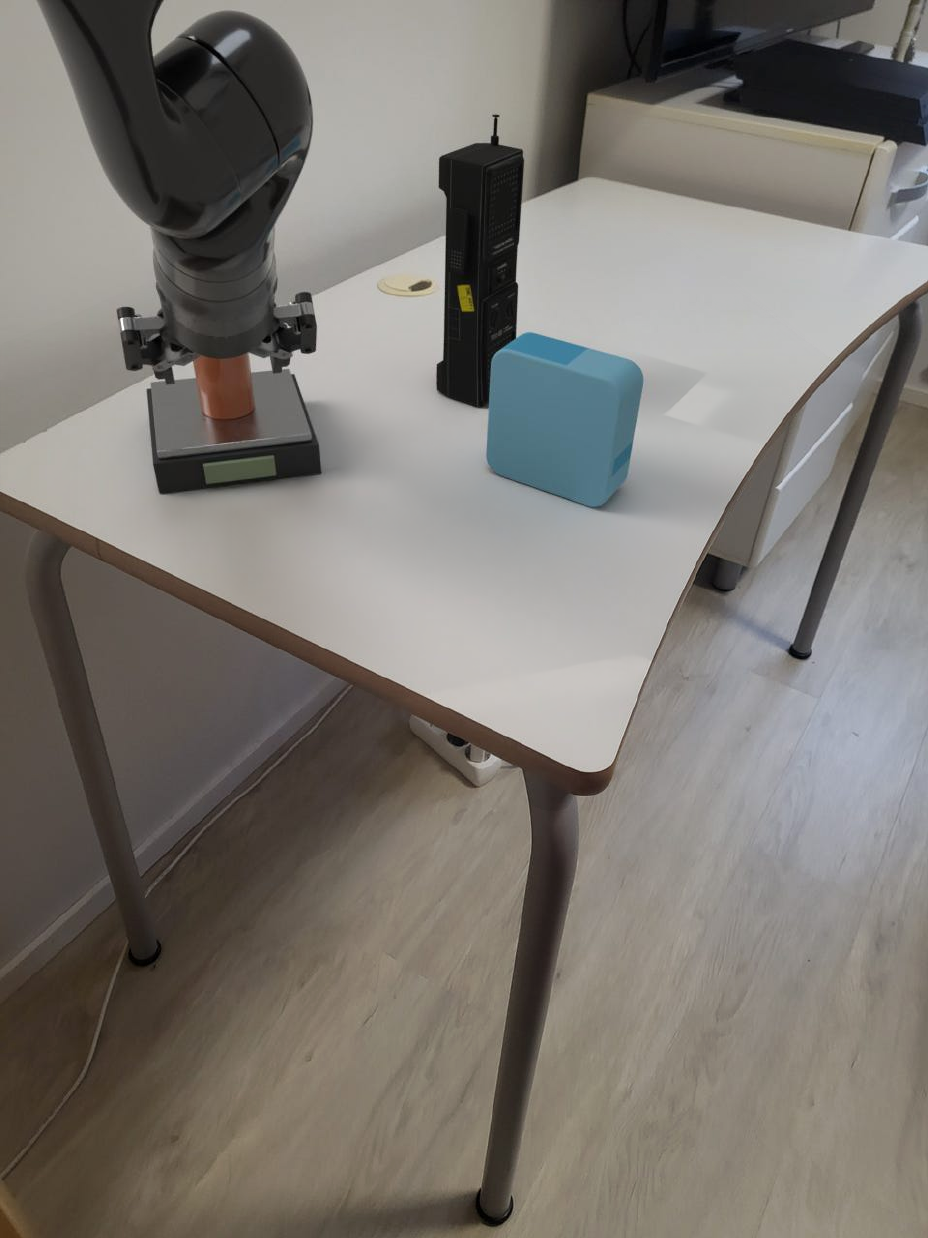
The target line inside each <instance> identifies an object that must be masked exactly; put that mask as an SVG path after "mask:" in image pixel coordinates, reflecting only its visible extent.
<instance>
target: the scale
mask: <svg viewBox="0 0 928 1238" xmlns="http://www.w3.org/2000/svg"><path fill="white" fill-rule="evenodd" d="M291 375H292V378H293V381H294V384H295V387H296V390H297V393H298V396H299V399H300V402H301V405H302V408H303V410H304V413H305V416H306V419H307V422H308V425H309V428H310V431H311V434H312V441H311V442H302V443H294V444H285V445H277V446H269V447H260V448H252V449H243V450H235V451H226V452H218V453H209V454H201V455H192V456H184V457H175V458H167V459H158V454H157V446H156V435H155V425H154V415H153V404H152V394H151V387H150V388H146V401H147V413H148V423H149V434H150V446H151V447H150V448H151V457H152V466H153V471H154V476H155V481H156V485H157V490H158V493H159V495H160V494H161V495H162V494H169V493H177V492H185V491H193V490H200V489H208V488H215V487H216V488H218V487H225V486H232V485H240V484H248V483H256V482H264V481H272V480H277V479H278V480H280V479H287V478H295V477H296V478H297V477H304V476H311V475H318V474H322V465H321V454H320V443H319V441H318V440H319V439H318V438H317V435H316V432H315V429H314V426H313V424H312V421H311V418H310V415H309V412H308V409H307V406H306V403H305V401H304V398H303V394H302V392H301V389H300V387H299V384H298V381H297V377H296V375H295V373H291Z"/></svg>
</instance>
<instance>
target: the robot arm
mask: <svg viewBox="0 0 928 1238" xmlns="http://www.w3.org/2000/svg"><path fill="white" fill-rule="evenodd" d="M164 1H165V0H35V2H36V3H37V5H38V7H39V9H40V12H41V14H42V17H43V19H44V20H45V23H46V26H47V28H48V30H49V33H50V35H51V37H52V40H53V42H54V45H55V47H56V49H57V52H58V54H59V57H60V59H61V61H62V64H63V66H64V69H65V72H66V75H67V77H68V81H69V82H70V86H71V88H72V91H73V94H74V97H75V100H76V102H77V103H76V104H77V106H78V109H79V112H80V115H81V117H82V120H83V124H84V126H85V129H86V132H87V135H88V137H89V141H90V143H91V145H92V147H93V150H94V153H95V155H96V157H97V159H98V161H99V164H100V167H101V169H102V170H103V172H104V174H105V177H106V178H107V181H108V182H109V183H110V185H111V187H112V188H113V190H114V191H115V193H116V195H118V197H119V198H120V200H121V201H122V202H123V204H125V206H126V207H127V208H128V209H129V210H130V211H131V212H132V213H133V215H134V216H136V217H137V218H138V219H139V220H141V221H142V222H143V223H145V224H146V225H147V226H149V231H150V237H151V241H152V246H153V247H152V266H153V272H154V276H155V277H154V278H155V289H156V292H157V295H158V297H159V302H160V306H161V308H160V309H159V310H158V311H157V313H156V315H154V316H143V315H142V314H140V313H137V314H136V312H135V308H134V307H131V306H121V307H119V308H116V316H117V317H116V318H117V322H118V329H119V336H120V342H121V346H122V352H123V358H124V365H125V369H126V370H127V371H129V372H130V371H131V372H137V371H140V370H142V369H143V368H144V366H145V365H146V366H150V367H151V370H152V371H153V374H154V377H155V378H154V379H157V380H164V381H165V382H166V385H168V384H175V381H174V380H175V377H174V370H173V366H181V367H185V366H187V365H188V364H190V363H193V361H194V360H195V359H197V358H199V357H200V356H205V357H209V358H216V359H228V358H234V357H238V356H241V355H244V354H246V353H249V354H251V355H254V356H256V357H259V358H261V359H266V358H269V359H270V366H271V371H273V374H275V373H282V369H283V368H287V367H288V366H289V365H291V358H292V357H293V356H294V354H293V353H294V352H295V351H300V353H301V354H303V355H310V354H313V353H315V352H316V351H317V339H318V338H317V337H318V333H317V332H318V324H317V319H316V313H315V308H314V302H313V296H312V293H311V292H310V291H309V292H308V291H302V292H297V293H296V294H295V295H294V300H291V301H289V302H288V304H281V305H277V303H276V302H275V300H276V299H275V298H276V293H277V290H278V282H279V281H278V280H279V278H278V274H277V259H276V258H277V257H276V254H275V241H276V239H275V238H276V224H277V222H278V220H279V218H280V217H281V215H282V213H283V211H284V210H285V207H286V206H287V204H288V202H289V201H290V197H291V195H292V193H293V191H294V189H295V186H296V185H297V183H298V180H299V178H300V176H301V173H302V171H303V169H304V166H305V164H306V162H307V158H308V155H309V152H310V150H311V149H310V148H311V144H312V139H313V132H314V107H313V101H312V95H311V91H310V87H309V83H308V80H307V77H306V75H305V72H304V70H303V67H302V65H301V63H300V61H299V59H298V57H297V56H296V54H295V52H294V50H293V49H292V47H291V46H290V45H289V44H288V42H287V41H286V40H285V39H284V38H283V37H282V36H281V34H280V33H279V32H278V31H276V29H274V27H273V26H271V25H270V24H268V23H267V22H266V21H264V20H262V19H260V18H258V17H257V16H254V15H253V14H249V13H247V12H244V11H239V10H230V9H229V10H228V9H224V10H219V11H215V12H212V13H209V14H207V15H205V16H203V17H200V18H199V19H197V20H196V21H195V22H193V23H192V24H191V25H190V26H189V27H187V28H186V29H185V30H184V31H182V32H181V33H180V34H178V35H177V36H176V37H175V38H174V39H173V40H171V41H170V42H169V43H168V44H167V45H165V46H164V47H163V48H162V49H160V50H159V51H158V52H157V53H155V55H154V53H153V45H152V43H153V42H152V32H153V27H154V23H155V19H156V17H157V15H158V12H159V11H160V9H161V6H162V4H163V2H164Z"/></svg>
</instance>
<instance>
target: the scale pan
mask: <svg viewBox="0 0 928 1238" xmlns="http://www.w3.org/2000/svg"><path fill="white" fill-rule="evenodd" d="M291 374H292V373H291V370H290V368H282V373H275V374H273V371H272V370H263V371H251V375H252V383H253V391H254V399H255V408H254V409H253V411H252V412H250V413H249V414H247V415H245V416H243V417H239V418H235V419H215V418H211V417H208V416H206V415H205V414H204V413H203V412H202V411H201V406H200V400H199V394H198V388H197V382H196V377H193V378H181V379H174V381H175V384H168V385H166V382H165V380H162V381H151V382H150V388H151V394H152V404H153V415H154V425H155V435H156V446H157V454H158V459H167V458H175V457H184V456H192V455H201V454H209V453H218V452H226V451H235V450H243V449H252V448H260V447H269V446H277V445H285V444H294V443H302V442H311V441H312V434H311V431H310V428H309V425H308V422H307V419H306V416H305V413H304V410H303V408H302V405H301V402H300V399H299V396H298V393H297V390H296V387H295V384H294V381H293V378H292V375H291Z"/></svg>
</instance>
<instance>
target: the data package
mask: <svg viewBox="0 0 928 1238" xmlns="http://www.w3.org/2000/svg"><path fill="white" fill-rule="evenodd" d="M643 386H644V375H643V371H642V370H641V368H640V366H639V365H638V363H636V362H635V361H633V360H632V359H629V358H626V357H622V356H619V355H615V354H611V353H608V352H604V351H601V350H597V349H594V348H590V347H588V346H587V347H586V346H582V345H579V344H576V343H573V342H568V341H565V340H562V339H558V338H554V337H550V336H547V335H543V334H539V333H535V332H533V331H528V332H524V333H522V334H520V335H518V337H517V336H516V339H515V340H513V341H512V342H510V343H509V344H508V345H506V346H505V347H503V348H502V349H500V350H499V351H498V352H496V353H495V355H494V356H493V358H492V362H491V377H490V396H489V402H488V413H487V415H488V417H487V434H486V452H485V453H486V454H485V455H486V462H487V464H488V466H489V468H490V469H491V470H492V471H493V472H494V473H495V474H496V475H498V476H501V477H504V478H506V479H509V480H512V481H515V482H518V483H520V484H524V485H526V486H530V487H533V488H535V489H538V490H541V491H544V492H547V493H549V494H552V495H555V496H558V497H561V498H564V499H567V500H569V501H572V502H575V503H578V504H581V505H584V506H587V507H589V508H590V507H591V508H597V507H600V506H602V505H604V504H605V503H606V502H607V501H608V500H609V499H610V498H611V497H612V496H613V495H614V493H615V492H616V491H617V490H618V489H619V488H620V487H621V486H622V485H623V483H624V482H625V481H626V480H627V478H628V475H629V469H630V465H631V464H630V463H631V457H632V452H633V447H634V440H635V434H636V428H637V422H638V415H639V409H640V405H641V398H642V393H643V388H644V387H643Z"/></svg>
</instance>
